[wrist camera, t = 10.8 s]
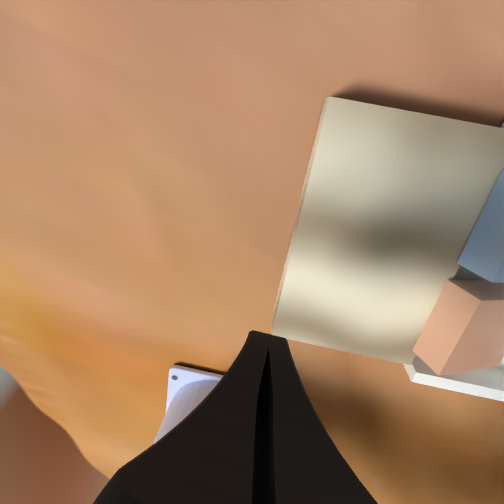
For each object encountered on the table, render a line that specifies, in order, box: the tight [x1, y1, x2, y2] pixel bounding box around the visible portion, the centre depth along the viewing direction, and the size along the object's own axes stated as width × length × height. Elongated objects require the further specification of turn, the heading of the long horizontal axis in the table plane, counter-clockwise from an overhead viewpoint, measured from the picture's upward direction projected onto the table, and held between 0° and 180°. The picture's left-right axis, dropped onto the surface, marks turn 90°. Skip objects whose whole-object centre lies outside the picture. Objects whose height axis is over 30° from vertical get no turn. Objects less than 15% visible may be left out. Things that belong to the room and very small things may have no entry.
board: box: [271, 96, 504, 365], centre depth 18 cm, size 14×9×2 cm, turn 170°
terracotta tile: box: [412, 280, 504, 376], centre depth 18 cm, size 5×5×2 cm
